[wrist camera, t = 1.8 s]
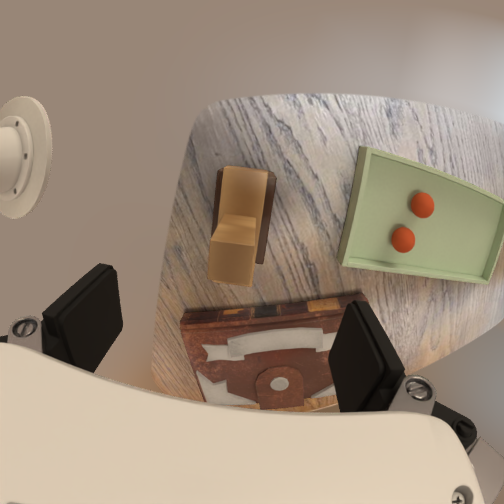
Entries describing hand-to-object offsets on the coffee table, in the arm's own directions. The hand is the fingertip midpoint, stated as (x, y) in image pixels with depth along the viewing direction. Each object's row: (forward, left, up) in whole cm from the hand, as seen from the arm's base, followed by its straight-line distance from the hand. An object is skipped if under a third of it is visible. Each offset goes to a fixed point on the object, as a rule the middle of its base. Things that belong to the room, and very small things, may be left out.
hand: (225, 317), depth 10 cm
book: (+7, -19, -21) cm, 29 cm away
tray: (+25, +2, -20) cm, 32 cm away
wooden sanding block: (0, 0, -14) cm, 14 cm away
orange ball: (+20, +4, -18) cm, 27 cm away
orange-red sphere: (+18, 0, -18) cm, 26 cm away
